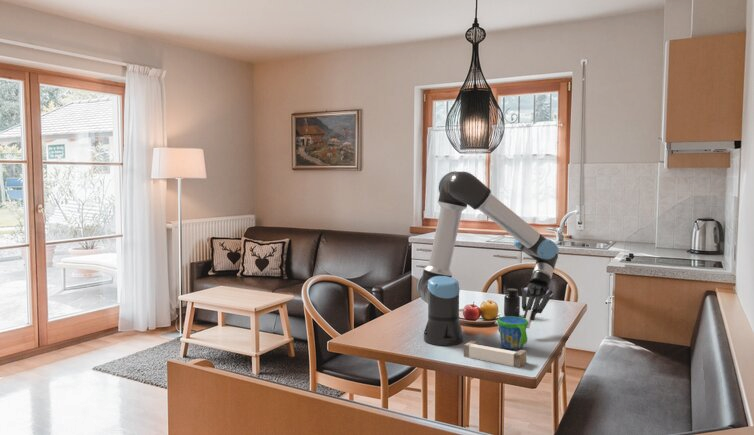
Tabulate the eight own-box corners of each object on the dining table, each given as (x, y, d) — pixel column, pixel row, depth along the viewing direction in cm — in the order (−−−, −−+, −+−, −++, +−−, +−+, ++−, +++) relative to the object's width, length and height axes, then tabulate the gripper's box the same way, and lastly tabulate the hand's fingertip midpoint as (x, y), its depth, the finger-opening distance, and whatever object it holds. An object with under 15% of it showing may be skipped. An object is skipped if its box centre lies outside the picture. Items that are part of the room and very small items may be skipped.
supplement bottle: (520, 318, 239) (520, 291, 238) (504, 317, 241) (504, 290, 240) (519, 314, 246) (519, 288, 245) (503, 313, 247) (503, 287, 246)
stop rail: (463, 356, 190) (463, 344, 189) (471, 351, 195) (471, 340, 194) (519, 367, 178) (519, 355, 178) (526, 362, 183) (526, 350, 183)
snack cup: (536, 353, 193) (536, 324, 192) (508, 355, 191) (508, 326, 190) (516, 340, 208) (516, 313, 207) (490, 341, 206) (490, 315, 205)
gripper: (559, 283, 221) (545, 334, 209) (528, 280, 228) (512, 329, 216) (555, 272, 216) (540, 323, 204) (523, 269, 224) (507, 318, 211)
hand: (526, 326), depth 210 cm, fingers closed
